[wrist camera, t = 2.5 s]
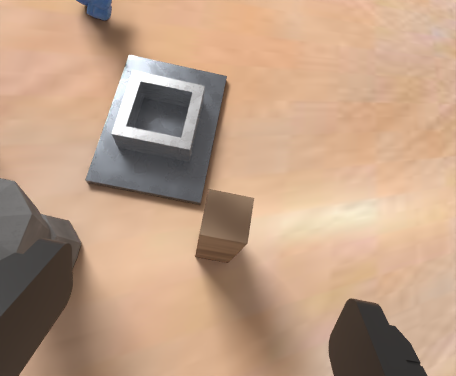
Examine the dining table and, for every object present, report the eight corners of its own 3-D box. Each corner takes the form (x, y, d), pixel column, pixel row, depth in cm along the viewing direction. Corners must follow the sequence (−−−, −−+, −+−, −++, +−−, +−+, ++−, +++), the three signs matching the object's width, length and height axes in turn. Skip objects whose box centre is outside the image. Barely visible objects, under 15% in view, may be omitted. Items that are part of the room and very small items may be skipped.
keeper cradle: (200, 204, 46) (201, 193, 42) (87, 182, 45) (76, 168, 41) (226, 80, 54) (229, 58, 49) (130, 59, 53) (124, 35, 48)
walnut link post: (227, 262, 44) (247, 243, 30) (195, 256, 44) (199, 234, 30) (233, 230, 46) (254, 198, 32) (201, 224, 45) (208, 188, 31)
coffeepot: (4, 207, 43) (-114, 145, 26) (79, 196, 45) (14, 131, 28) (3, 332, 38) (-140, 354, 21) (87, 313, 40) (15, 321, 23)
